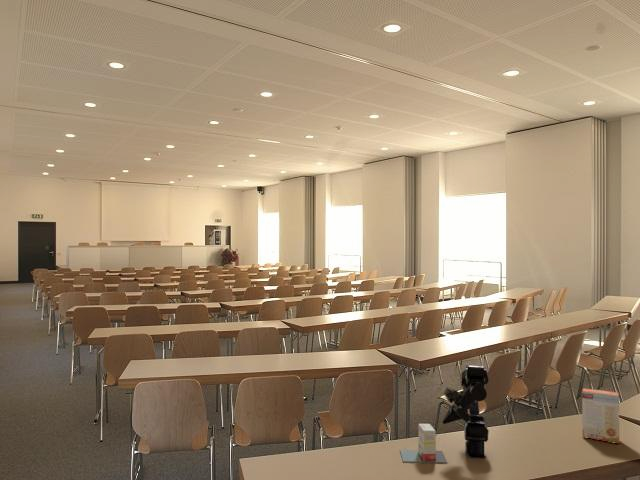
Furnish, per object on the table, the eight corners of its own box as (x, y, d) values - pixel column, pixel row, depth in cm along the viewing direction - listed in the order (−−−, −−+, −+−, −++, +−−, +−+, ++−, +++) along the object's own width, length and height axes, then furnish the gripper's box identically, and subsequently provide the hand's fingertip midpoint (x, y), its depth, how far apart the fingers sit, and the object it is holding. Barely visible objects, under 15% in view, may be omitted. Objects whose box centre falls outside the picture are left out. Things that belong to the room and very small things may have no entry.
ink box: (436, 461, 195) (436, 430, 195) (424, 461, 195) (424, 431, 195) (429, 452, 204) (429, 422, 204) (417, 452, 203) (417, 423, 204)
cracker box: (619, 440, 217) (619, 392, 217) (619, 445, 212) (618, 395, 212) (583, 433, 224) (583, 387, 224) (582, 438, 219) (581, 390, 219)
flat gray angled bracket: (442, 451, 204) (442, 450, 204) (447, 463, 193) (447, 462, 193) (400, 450, 205) (400, 449, 205) (403, 462, 194) (403, 461, 194)
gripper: (451, 375, 208) (424, 401, 209) (461, 386, 190) (432, 415, 190) (470, 394, 208) (444, 420, 208) (482, 408, 189) (453, 437, 189)
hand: (443, 422), depth 199 cm, fingers closed
